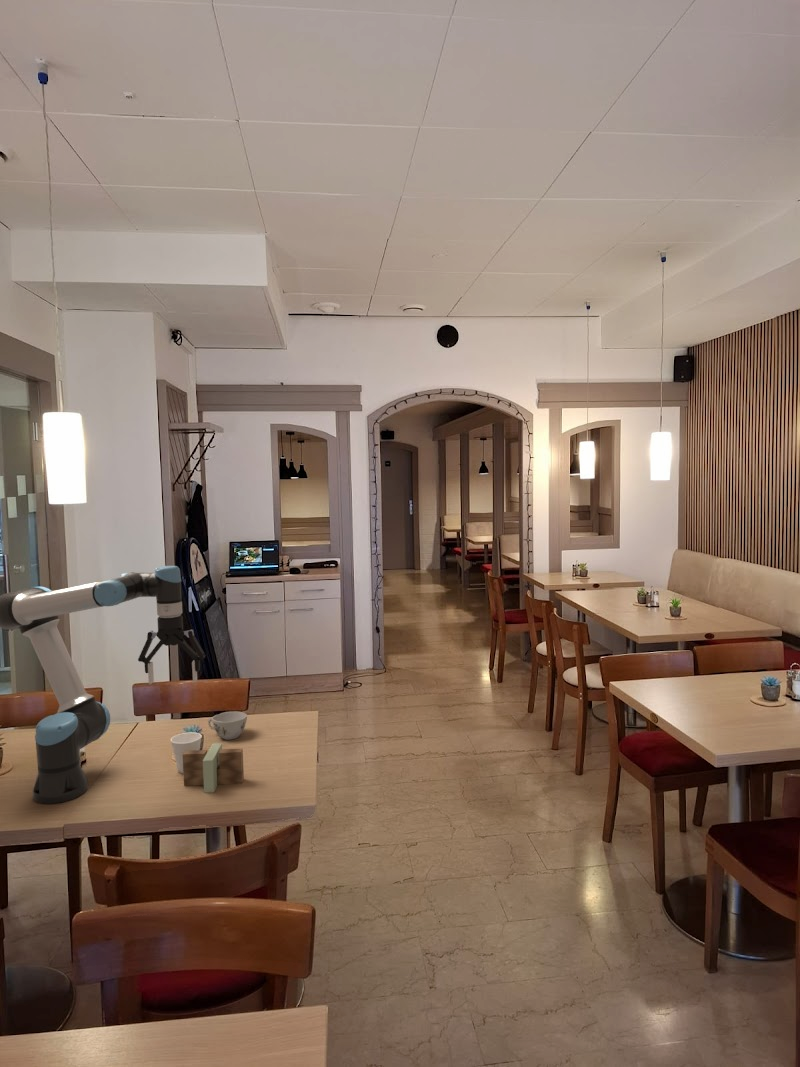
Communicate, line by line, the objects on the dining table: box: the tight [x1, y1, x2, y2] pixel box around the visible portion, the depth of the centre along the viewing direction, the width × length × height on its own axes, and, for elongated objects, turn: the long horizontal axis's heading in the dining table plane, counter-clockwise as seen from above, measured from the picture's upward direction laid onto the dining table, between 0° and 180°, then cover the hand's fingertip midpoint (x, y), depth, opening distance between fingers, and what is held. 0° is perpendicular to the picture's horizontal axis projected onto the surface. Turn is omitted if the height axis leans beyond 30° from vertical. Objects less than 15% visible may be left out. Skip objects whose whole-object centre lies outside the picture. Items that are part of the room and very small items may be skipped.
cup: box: [170, 731, 203, 774], centre depth 232 cm, size 10×10×11 cm
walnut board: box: [182, 748, 245, 786], centre depth 222 cm, size 18×3×10 cm, turn 93°
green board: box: [203, 742, 223, 793], centre depth 222 cm, size 14×3×10 cm, turn 3°
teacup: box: [207, 710, 248, 741], centre depth 261 cm, size 15×12×8 cm
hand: (173, 682), depth 222 cm, fingers open, 13 cm apart
